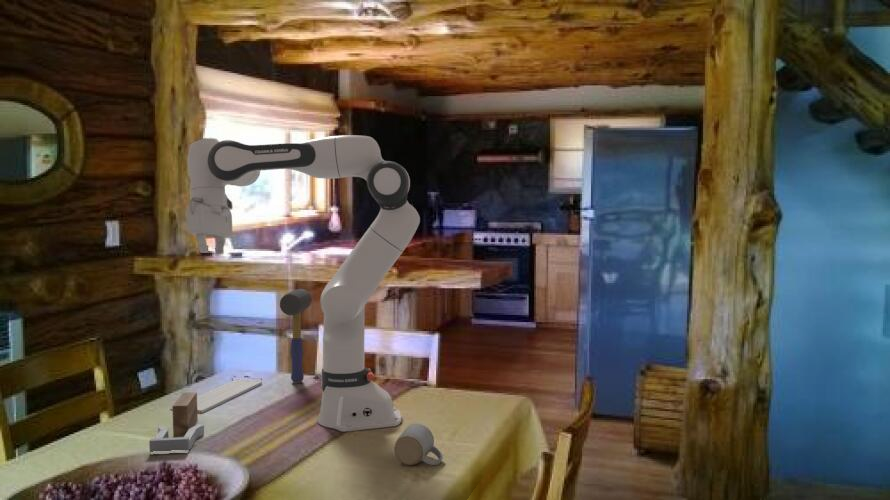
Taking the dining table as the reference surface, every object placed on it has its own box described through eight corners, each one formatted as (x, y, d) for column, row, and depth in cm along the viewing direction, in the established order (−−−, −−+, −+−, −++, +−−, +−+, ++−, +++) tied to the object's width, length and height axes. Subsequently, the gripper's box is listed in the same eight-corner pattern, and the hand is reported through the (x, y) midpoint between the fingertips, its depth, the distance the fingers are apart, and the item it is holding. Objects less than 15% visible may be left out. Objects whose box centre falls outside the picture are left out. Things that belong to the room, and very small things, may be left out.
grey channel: (204, 433, 185) (204, 420, 185) (193, 453, 172) (193, 438, 172) (158, 435, 184) (158, 422, 184) (144, 455, 170) (143, 441, 170)
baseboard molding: (166, 411, 205) (202, 415, 202) (165, 401, 205) (201, 405, 202) (229, 382, 235) (262, 386, 231) (229, 374, 235) (262, 377, 231)
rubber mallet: (302, 388, 227) (300, 293, 224) (279, 387, 228) (277, 292, 225) (314, 377, 239) (313, 287, 236) (292, 377, 240) (291, 287, 237)
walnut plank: (197, 421, 196) (196, 392, 195) (188, 436, 184) (187, 405, 183) (183, 421, 195) (182, 392, 194) (173, 437, 183) (172, 406, 182)
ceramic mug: (392, 465, 165) (392, 432, 164) (403, 452, 173) (403, 421, 172) (437, 471, 162) (437, 437, 161) (446, 457, 170) (447, 425, 169)
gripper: (202, 194, 179) (206, 250, 178) (234, 203, 199) (238, 253, 199) (177, 197, 180) (181, 252, 179) (213, 206, 200) (216, 256, 199)
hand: (212, 253), depth 189 cm, fingers open, 8 cm apart
